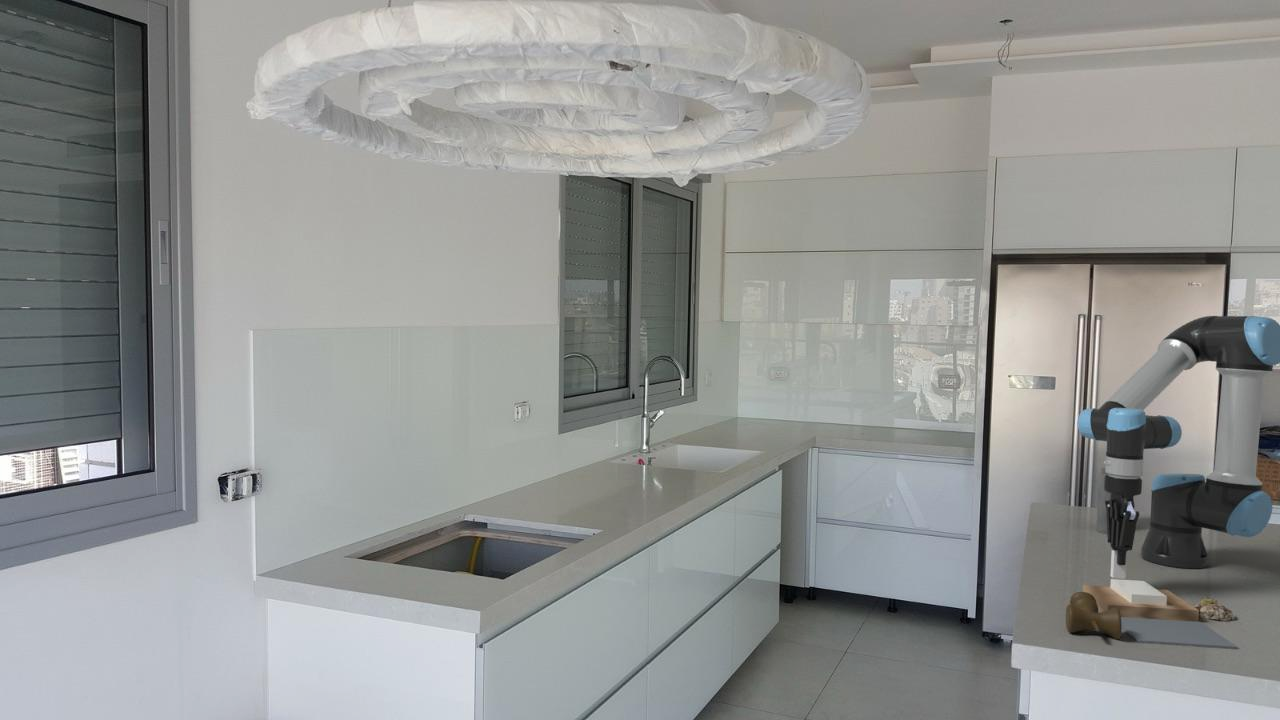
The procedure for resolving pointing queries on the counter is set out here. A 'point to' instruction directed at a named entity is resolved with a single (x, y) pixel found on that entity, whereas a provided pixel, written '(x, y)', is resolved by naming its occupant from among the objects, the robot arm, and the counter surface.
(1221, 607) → the mineral rock
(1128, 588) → the stone tile
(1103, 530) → the flask
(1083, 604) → the kendama
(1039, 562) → the counter surface
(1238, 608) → the counter surface
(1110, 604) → the tan wooden board
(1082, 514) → the counter surface
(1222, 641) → the mat
